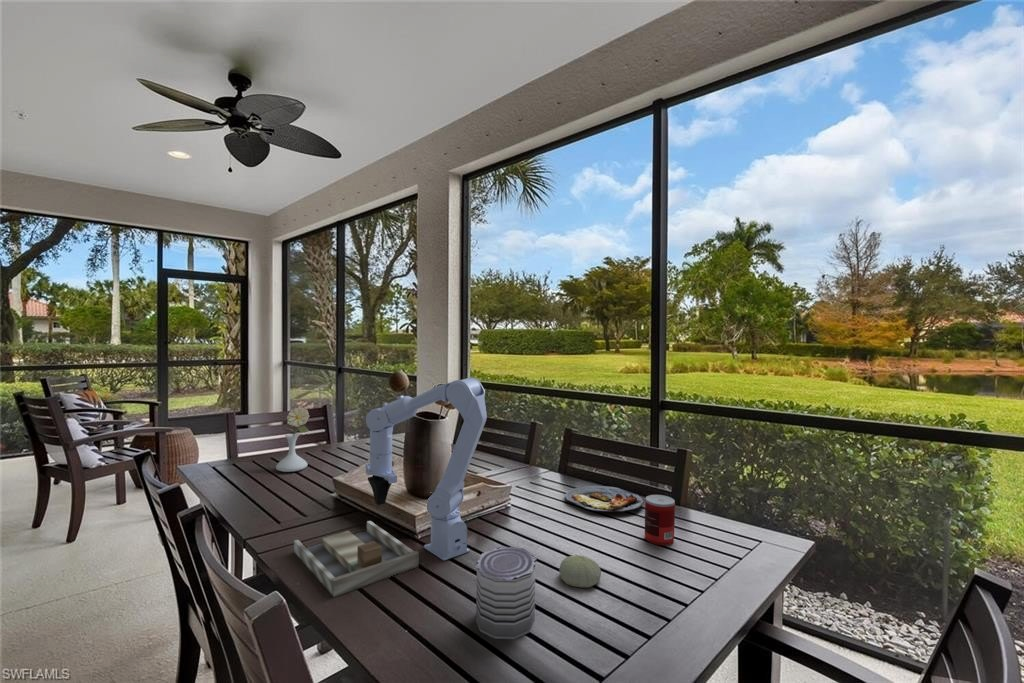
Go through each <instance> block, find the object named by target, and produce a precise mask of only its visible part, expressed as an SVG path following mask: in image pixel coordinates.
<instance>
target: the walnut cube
mask: <svg viewBox="0 0 1024 683" xmlns="http://www.w3.org/2000/svg"><path fill="white" fill-rule="evenodd" d="M381 562H382V547H381V546H380V545H379V544H377V543H376V542H375V541H372V542H369V543H366V544H362V545H359V546H358V550H357V563H358V564H359V565H360V566H361V567H362V568H366V567H369V566H372V565H375V564H378V563H381Z"/></svg>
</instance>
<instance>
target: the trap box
mask: <svg viewBox="0 0 1024 683" xmlns="http://www.w3.org/2000/svg"><path fill="white" fill-rule="evenodd" d="M372 541H375V542H376V543H377V544H379V545H380V546H381V547H382V562H381V563H378V564H375V565H372V566H369V567H366V568H362V567H361V566H360V565H359V564H358V563H357V550H358V546H359V545H362V544H366V543H369V542H372ZM293 553H294V554H295V556H296V555H297V556H298V557H299V558H300V559H301V560H300V559H299V558H298V557H297V556H296V557H297V558H298V559H299V560H300V561H301V562H302V564H304V566H305V565H306V566H305V567H306V568H307V569H308V570H309V572H311V574H314V575H313V576H314V577H315V578H316V579H317V581H318V582H319V583H320V584H321V583H322V584H321V585H322V586H323V587H324V588H325V589H326V590H327V591H328V593H330V595H331V596H332V598H335V597H339V596H341V595H344V594H347V593H350V592H353V591H355V589H356V590H358V589H361V588H364V587H367V586H369V585H368V584H370V585H372V584H375V583H377V581H378V582H380V580H381V581H384V580H387V579H389V578H392V577H394V576H393V575H395V576H397V575H396V574H398V575H400V574H399V573H401V572H403V573H406V572H408V570H409V571H411V570H410V569H412V570H414V569H413V568H415V569H417V568H419V563H420V562H419V561H420V560H419V557H420V556H419V555H420V554H419V551H417V550H415V551H414V550H413V549H412V548H410V547H409V546H407V545H406V544H404V542H402V541H400V540H399V539H397V538H396V537H394V536H393V535H391V533H389V532H387V531H386V530H384V529H383V528H382V527H380V526H379V525H377V524H375V523H374V522H373V521H372V520H367V521H366V531H362V532H358V533H357V532H356V533H355V534H353V533H352V532H351V531H349V530H345V531H344V532H339V533H335V534H331V535H329V536H328V535H327V536H324V537H321V543H318V544H314V545H311V546H308V547H306V545H304V544H303V543H302V542H301V541H300V540H299V539H295V540H293ZM416 567H417V568H416ZM405 571H406V572H405ZM401 574H402V573H401ZM391 576H392V577H391ZM383 579H384V580H383ZM374 582H375V583H374ZM371 583H372V584H371ZM366 585H367V586H366ZM363 586H364V587H363Z"/></svg>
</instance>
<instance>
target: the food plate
mask: <svg viewBox="0 0 1024 683" xmlns="http://www.w3.org/2000/svg"><path fill="white" fill-rule="evenodd" d="M565 498H566V501H569V502H571V503H573V504H575V505H577V506H580V507H583V509H587V510H591V511H593V512H599V513H602V512H603V513H624V512H628V511H633V510H637V509H640V508H641V507H642V506H643V504H645V500H643V498H642V497H641V496H639V494H637V493H634V492H632V491H628V490H625V489H622V488H620V487H614V486H608V485H607V486H603V485H601V486H600V485H583V486H578V487H575V488H570V490H568V491H567V492H566V493H565Z"/></svg>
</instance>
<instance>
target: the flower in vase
mask: <svg viewBox="0 0 1024 683" xmlns="http://www.w3.org/2000/svg"><path fill="white" fill-rule="evenodd" d="M309 414H310V413H309V410H308V409H306V408H304V407H300V406H299V407H297V408H296V407H294V409H291V410H290V412H288V415H286V420H287V423H288V425H289V426H292V427H293V426H294V427H295V428H297V429H296V430H295V431H294V430H293V429H291V428H288V427H286V426H285V428H286V429H287V430H290V431H292V432H294V433H289V434H285V435H284V436H285V438H286V440H287V442H288V452H287V455H286V456H285V457H283V458H282V459H281V460H280V461H279V462H278V463H277V464H276V466H275V469H276V470H277V471H279V472H284V473H287V472H288V473H291V472H298V471H301V470H304V469H305V468H306V467H307V466H308V462H307V461H306V460H305V459H304V458H303V457H301V456H299V455H298V454H297V453H296V444H297V443H296V442H297V439H298V438H299V436H300V434H298V433H297V431H298V432H300V433H301V434H302V433H303V434H304V433H307V432H309V431H310V430H309V429H308V428H307V427H306V426H305V425H306V423H307V421H309V418H310V415H309Z"/></svg>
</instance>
